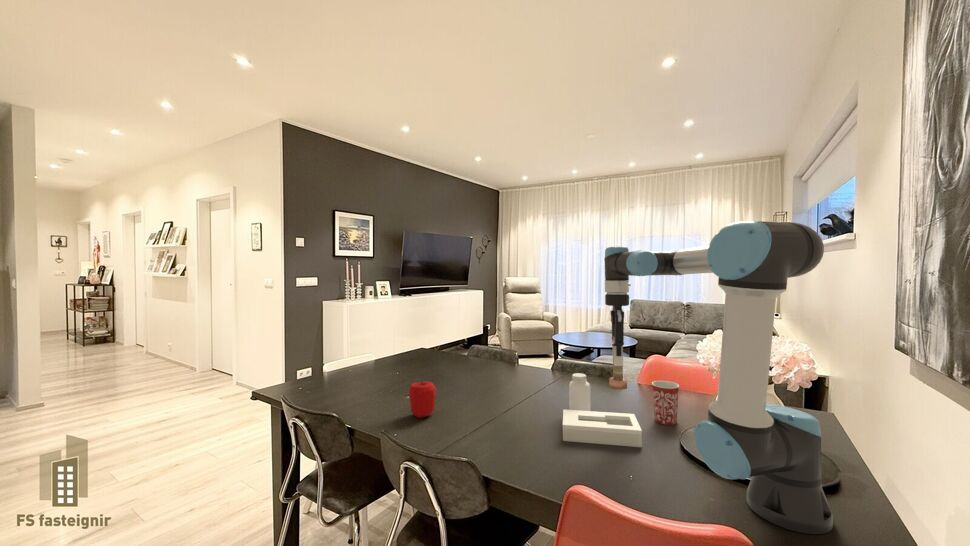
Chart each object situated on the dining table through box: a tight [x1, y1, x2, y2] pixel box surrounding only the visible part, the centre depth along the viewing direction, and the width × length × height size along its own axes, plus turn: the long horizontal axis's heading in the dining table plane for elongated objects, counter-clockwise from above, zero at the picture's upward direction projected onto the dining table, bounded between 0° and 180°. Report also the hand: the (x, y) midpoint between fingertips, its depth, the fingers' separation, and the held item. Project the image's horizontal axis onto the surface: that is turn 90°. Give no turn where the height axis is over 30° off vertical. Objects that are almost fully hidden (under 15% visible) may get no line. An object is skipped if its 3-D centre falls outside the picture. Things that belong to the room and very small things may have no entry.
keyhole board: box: [562, 408, 643, 448], centre depth 127 cm, size 14×24×5 cm, turn 77°
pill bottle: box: [568, 372, 592, 411], centre depth 146 cm, size 8×8×15 cm
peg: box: [608, 337, 628, 391], centre depth 125 cm, size 6×6×16 cm
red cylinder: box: [408, 380, 437, 419], centre depth 146 cm, size 10×10×14 cm
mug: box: [651, 380, 680, 426], centre depth 139 cm, size 13×9×14 cm
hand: (617, 364), depth 125 cm, fingers closed on peg, 3 cm apart
